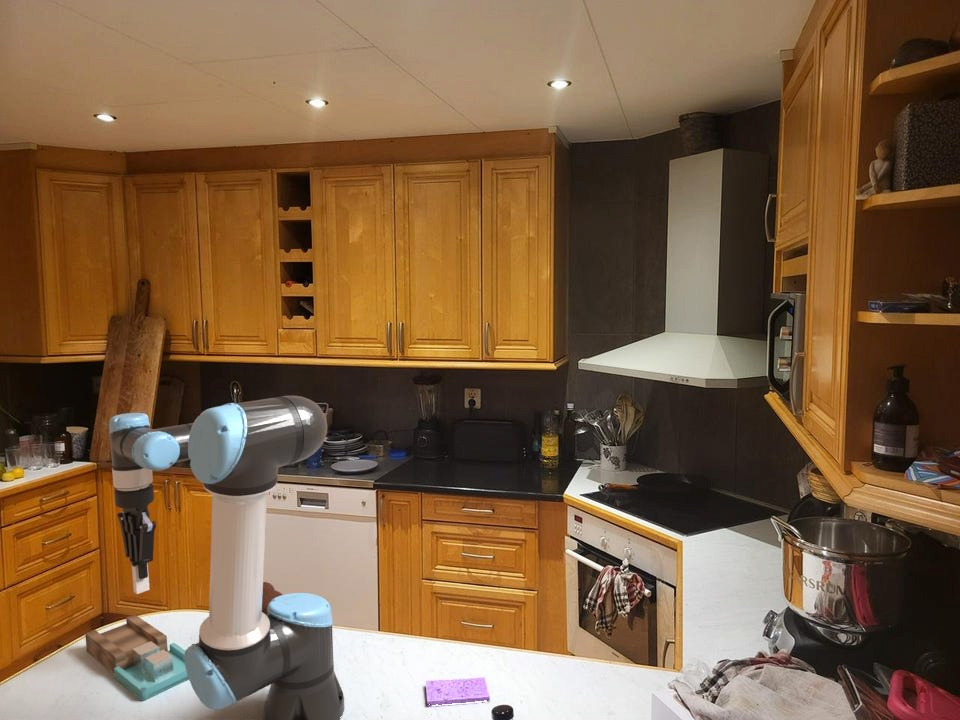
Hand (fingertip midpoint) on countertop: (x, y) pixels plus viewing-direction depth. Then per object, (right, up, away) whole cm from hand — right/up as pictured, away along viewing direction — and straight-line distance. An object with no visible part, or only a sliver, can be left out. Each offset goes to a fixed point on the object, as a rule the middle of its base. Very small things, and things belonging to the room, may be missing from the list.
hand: (141, 590), depth 146 cm
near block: (+4, -15, -2) cm, 15 cm away
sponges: (+69, -18, -10) cm, 72 cm away
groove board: (-7, -16, +7) cm, 19 cm away
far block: (+1, -16, 0) cm, 16 cm away
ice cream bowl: (+24, -16, +8) cm, 30 cm away
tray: (+5, -17, -2) cm, 18 cm away
